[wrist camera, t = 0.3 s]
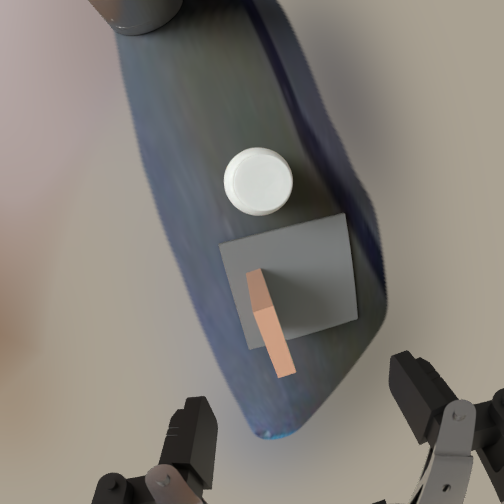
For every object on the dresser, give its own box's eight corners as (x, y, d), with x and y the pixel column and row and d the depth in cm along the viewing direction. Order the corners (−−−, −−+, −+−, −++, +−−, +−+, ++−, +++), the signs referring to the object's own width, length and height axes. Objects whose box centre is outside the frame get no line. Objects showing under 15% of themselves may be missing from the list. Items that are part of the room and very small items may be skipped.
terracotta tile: (265, 327, 31) (278, 378, 23) (245, 273, 30) (252, 312, 21) (279, 323, 31) (296, 371, 23) (260, 268, 30) (273, 305, 21)
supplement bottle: (222, 156, 27) (219, 145, 18) (276, 152, 27) (299, 140, 18) (227, 209, 28) (226, 224, 19) (280, 204, 29) (304, 218, 19)
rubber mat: (218, 243, 29) (218, 244, 29) (342, 212, 29) (344, 213, 29) (248, 346, 33) (249, 349, 32) (355, 316, 33) (357, 318, 32)
